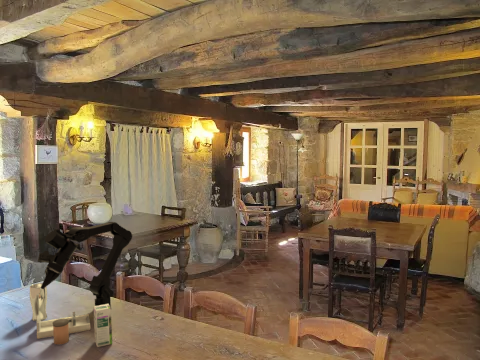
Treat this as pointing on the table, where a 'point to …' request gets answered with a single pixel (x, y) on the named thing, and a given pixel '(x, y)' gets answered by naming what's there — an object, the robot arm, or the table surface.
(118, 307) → the table surface
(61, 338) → the terracotta jar
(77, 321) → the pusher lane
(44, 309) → the beer glass
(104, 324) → the syrup box
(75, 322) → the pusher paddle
